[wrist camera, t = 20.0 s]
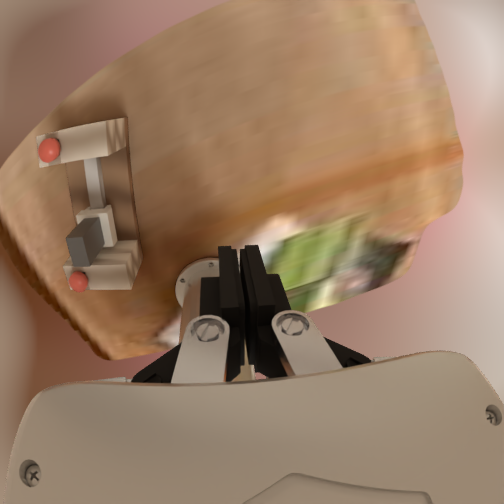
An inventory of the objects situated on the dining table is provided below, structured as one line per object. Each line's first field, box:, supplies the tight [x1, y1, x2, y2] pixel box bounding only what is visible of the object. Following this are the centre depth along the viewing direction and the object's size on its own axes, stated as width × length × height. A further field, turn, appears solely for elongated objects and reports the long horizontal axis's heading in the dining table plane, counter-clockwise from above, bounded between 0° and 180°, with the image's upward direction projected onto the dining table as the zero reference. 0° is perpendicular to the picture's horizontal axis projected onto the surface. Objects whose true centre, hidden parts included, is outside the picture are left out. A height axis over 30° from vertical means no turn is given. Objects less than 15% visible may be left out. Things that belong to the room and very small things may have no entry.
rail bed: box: [36, 117, 143, 290], centre depth 34 cm, size 22×10×8 cm, turn 179°
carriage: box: [66, 205, 117, 267], centre depth 33 cm, size 5×5×9 cm
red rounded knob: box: [38, 138, 60, 163], centre depth 26 cm, size 3×3×4 cm
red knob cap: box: [69, 271, 88, 292], centre depth 35 cm, size 3×3×4 cm
